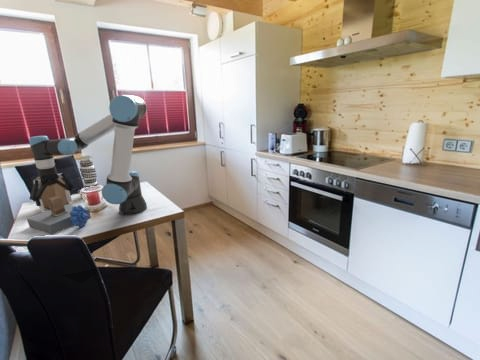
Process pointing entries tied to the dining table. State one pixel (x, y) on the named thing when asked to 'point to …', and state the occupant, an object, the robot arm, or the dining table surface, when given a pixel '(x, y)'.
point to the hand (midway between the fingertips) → (56, 206)
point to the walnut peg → (56, 206)
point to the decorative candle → (88, 172)
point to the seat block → (53, 221)
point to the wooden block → (53, 193)
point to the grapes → (78, 216)
